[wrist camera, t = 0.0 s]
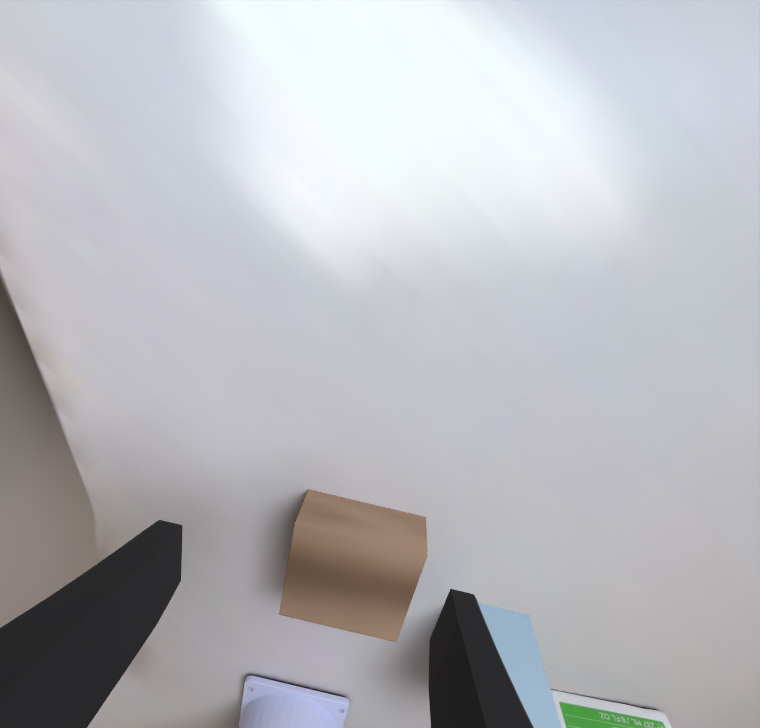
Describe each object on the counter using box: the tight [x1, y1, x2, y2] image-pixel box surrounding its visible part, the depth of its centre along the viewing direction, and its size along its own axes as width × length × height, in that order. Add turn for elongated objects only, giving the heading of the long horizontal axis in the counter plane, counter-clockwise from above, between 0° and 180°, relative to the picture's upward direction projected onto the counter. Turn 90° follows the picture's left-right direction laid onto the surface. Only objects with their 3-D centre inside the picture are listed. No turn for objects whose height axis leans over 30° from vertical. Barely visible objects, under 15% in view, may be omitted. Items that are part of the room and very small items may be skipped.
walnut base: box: [279, 490, 427, 642], centre depth 22 cm, size 7×7×3 cm
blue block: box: [478, 603, 562, 728], centre depth 21 cm, size 4×4×6 cm
